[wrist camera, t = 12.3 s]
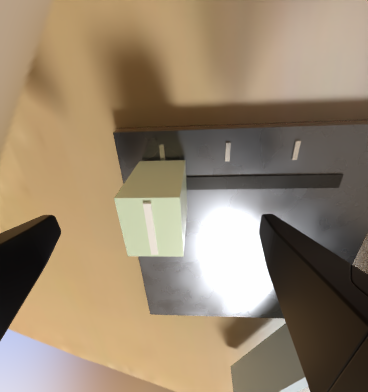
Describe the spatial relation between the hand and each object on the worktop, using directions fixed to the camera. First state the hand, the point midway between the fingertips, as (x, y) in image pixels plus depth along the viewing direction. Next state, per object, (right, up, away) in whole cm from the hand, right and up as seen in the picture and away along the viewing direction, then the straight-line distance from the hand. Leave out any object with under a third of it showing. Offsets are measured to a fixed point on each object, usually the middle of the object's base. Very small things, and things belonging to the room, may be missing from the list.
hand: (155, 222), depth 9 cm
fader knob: (0, +2, +3) cm, 3 cm away
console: (+5, -2, +6) cm, 8 cm away
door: (+10, -11, +10) cm, 18 cm away
